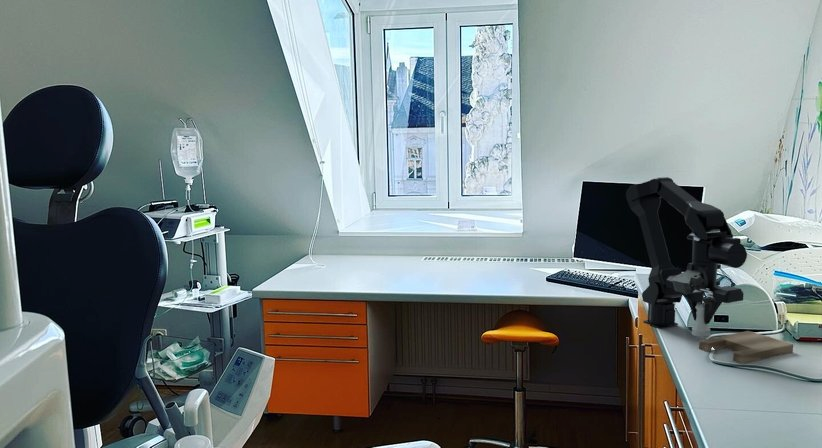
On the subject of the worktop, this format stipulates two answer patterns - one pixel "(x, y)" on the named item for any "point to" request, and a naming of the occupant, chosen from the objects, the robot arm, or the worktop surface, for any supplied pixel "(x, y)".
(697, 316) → the rook chess piece
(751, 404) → the worktop surface
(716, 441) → the worktop surface
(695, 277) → the robot arm
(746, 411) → the worktop surface
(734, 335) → the notched board
